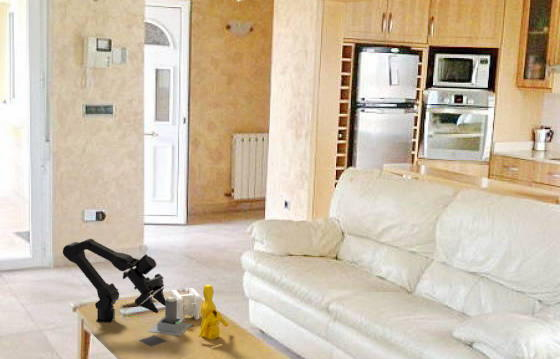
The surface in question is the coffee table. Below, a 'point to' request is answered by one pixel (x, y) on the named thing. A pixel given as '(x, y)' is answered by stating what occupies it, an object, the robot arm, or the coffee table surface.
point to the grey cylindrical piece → (171, 310)
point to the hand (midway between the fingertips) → (162, 309)
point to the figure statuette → (210, 316)
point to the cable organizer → (187, 303)
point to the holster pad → (152, 340)
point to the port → (171, 327)
